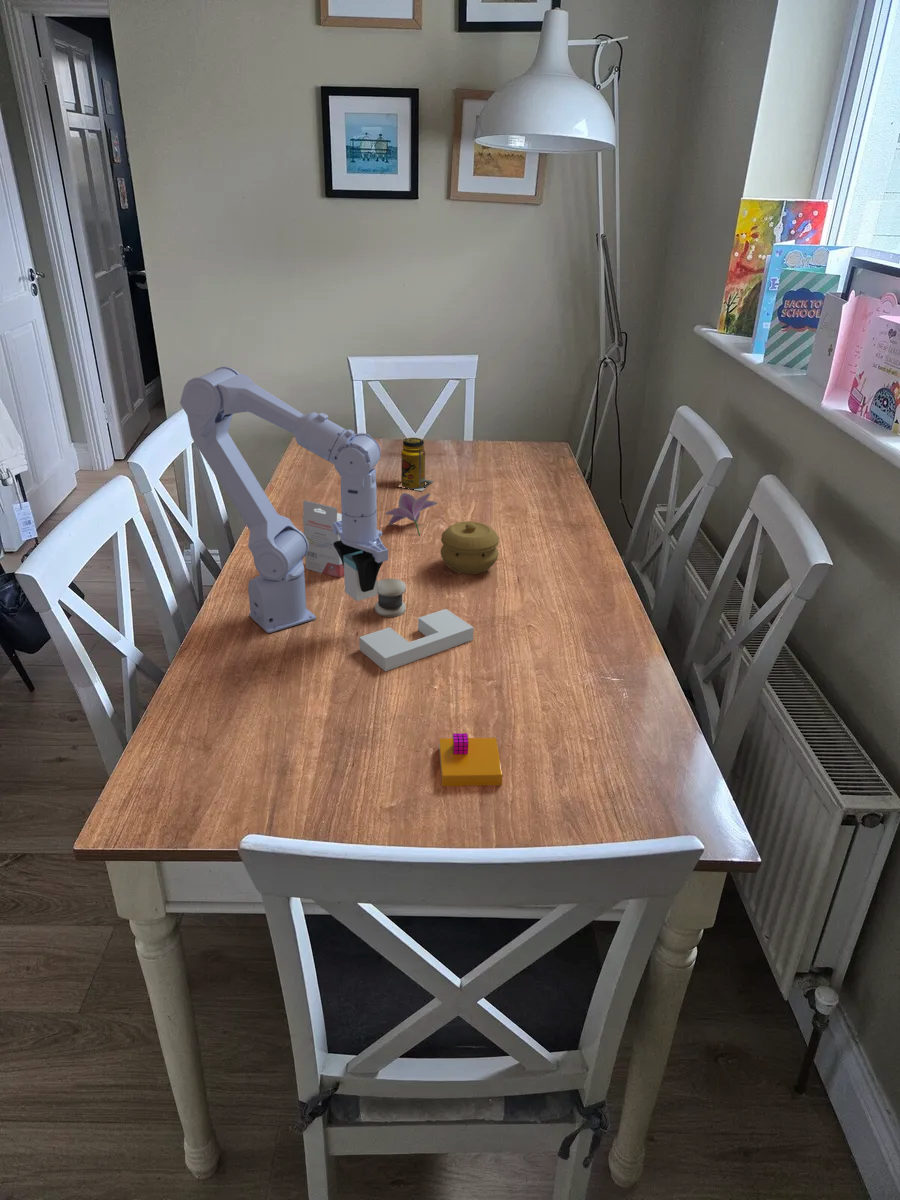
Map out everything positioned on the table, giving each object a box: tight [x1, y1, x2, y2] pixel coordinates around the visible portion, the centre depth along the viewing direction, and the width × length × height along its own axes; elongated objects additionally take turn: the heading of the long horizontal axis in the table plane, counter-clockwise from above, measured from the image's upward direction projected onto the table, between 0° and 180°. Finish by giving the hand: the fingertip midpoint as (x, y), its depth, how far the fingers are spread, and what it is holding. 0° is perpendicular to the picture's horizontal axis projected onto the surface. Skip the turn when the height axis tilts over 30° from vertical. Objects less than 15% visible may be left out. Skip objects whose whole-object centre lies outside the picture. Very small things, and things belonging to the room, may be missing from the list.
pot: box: [440, 521, 500, 575], centre depth 163 cm, size 12×12×10 cm
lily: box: [384, 492, 439, 536], centre depth 181 cm, size 12×12×10 cm
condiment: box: [400, 437, 434, 492], centre depth 206 cm, size 7×8×12 cm
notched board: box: [358, 608, 475, 672], centre depth 137 cm, size 18×8×2 cm, turn 127°
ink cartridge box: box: [302, 499, 344, 579], centre depth 159 cm, size 9×5×15 cm, turn 62°
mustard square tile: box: [438, 732, 503, 787], centre depth 110 cm, size 8×8×4 cm
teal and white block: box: [343, 550, 378, 602], centre depth 137 cm, size 4×4×7 cm
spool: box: [374, 578, 407, 618], centre depth 148 cm, size 6×6×5 cm
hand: (360, 585), depth 138 cm, fingers closed on teal and white block, 4 cm apart
